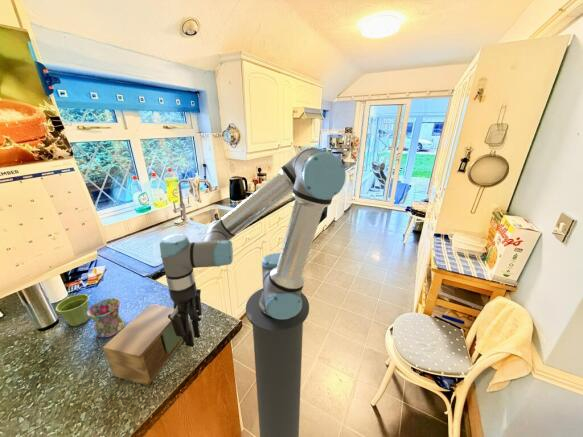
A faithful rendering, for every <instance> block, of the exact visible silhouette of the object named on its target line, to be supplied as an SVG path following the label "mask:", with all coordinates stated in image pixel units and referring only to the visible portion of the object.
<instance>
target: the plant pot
mask: <svg viewBox="0 0 583 437" xmlns="http://www.w3.org/2000/svg"><path fill="white" fill-rule="evenodd" d="M89 300H90V296H89V295H88V294H85V293H81V294H76V295H72V296H69V297H67V298H65V299H64V300H62V301H60V302H58V304H57V305H56V306H55V312H57V313H59V314H60V315H61V316H62V317H63V318H64V319H65V321H66V322H67V323H68V325H69V326H70V327H77V326H79V325H81V324H84V323H86V322H88V320H90V319H91V318H90V317H88V316H87V311H88V309H89V308H90V306H89Z"/></svg>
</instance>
